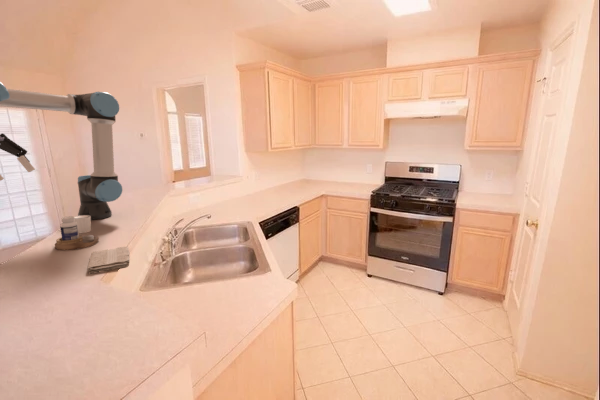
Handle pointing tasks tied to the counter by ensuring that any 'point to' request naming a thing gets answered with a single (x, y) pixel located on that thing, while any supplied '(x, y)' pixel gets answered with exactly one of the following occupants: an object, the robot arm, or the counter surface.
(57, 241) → the fire pit
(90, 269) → the washcloth
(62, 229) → the pill bottle
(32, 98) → the robot arm
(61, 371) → the counter surface
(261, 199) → the counter surface
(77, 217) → the white cup
